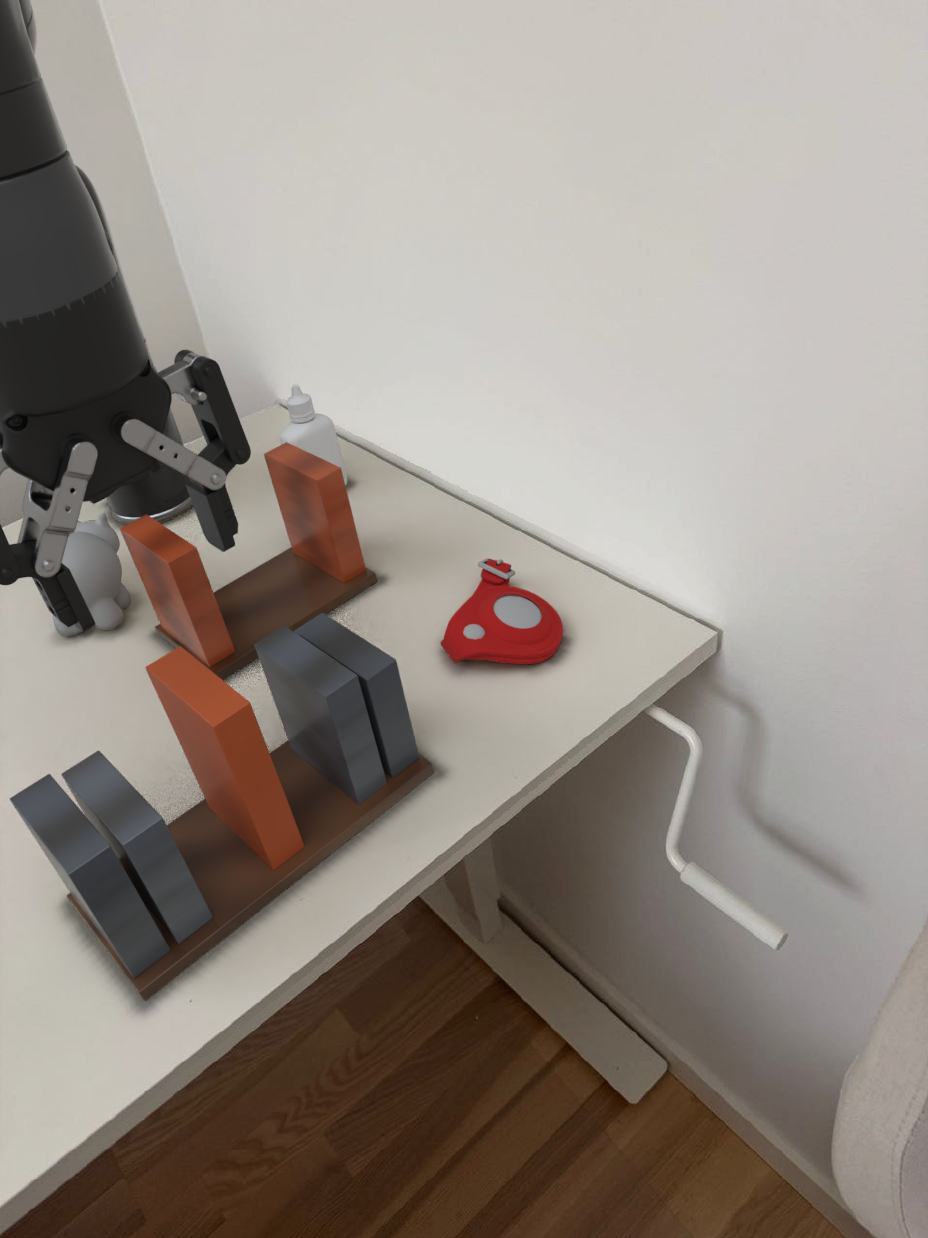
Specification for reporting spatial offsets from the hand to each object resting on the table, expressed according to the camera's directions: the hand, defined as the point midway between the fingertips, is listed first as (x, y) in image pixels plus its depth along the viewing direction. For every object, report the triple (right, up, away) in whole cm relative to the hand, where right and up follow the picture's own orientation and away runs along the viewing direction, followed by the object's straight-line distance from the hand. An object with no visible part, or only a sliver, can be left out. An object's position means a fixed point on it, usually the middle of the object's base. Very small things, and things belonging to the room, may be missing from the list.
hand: (154, 582), depth 51 cm
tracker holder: (+20, -3, +27) cm, 34 cm away
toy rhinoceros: (-17, 0, +38) cm, 42 cm away
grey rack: (+3, -17, +13) cm, 21 cm away
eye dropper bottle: (+2, +11, +48) cm, 49 cm away
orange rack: (-1, -1, +33) cm, 33 cm away
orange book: (+3, -16, +13) cm, 20 cm away
